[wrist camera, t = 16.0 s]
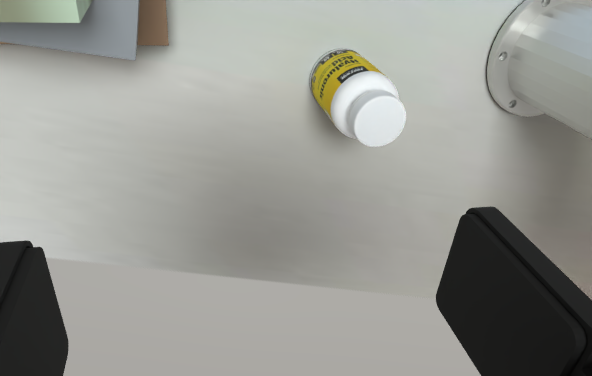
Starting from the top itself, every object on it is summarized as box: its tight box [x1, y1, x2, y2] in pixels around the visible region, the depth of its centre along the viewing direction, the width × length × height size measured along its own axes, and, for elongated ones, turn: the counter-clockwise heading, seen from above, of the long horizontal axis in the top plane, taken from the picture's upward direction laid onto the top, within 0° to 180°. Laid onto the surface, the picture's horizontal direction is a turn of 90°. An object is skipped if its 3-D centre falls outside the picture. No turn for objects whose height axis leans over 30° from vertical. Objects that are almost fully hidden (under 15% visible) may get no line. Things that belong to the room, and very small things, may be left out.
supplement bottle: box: [310, 49, 406, 147], centre depth 37 cm, size 5×5×10 cm
